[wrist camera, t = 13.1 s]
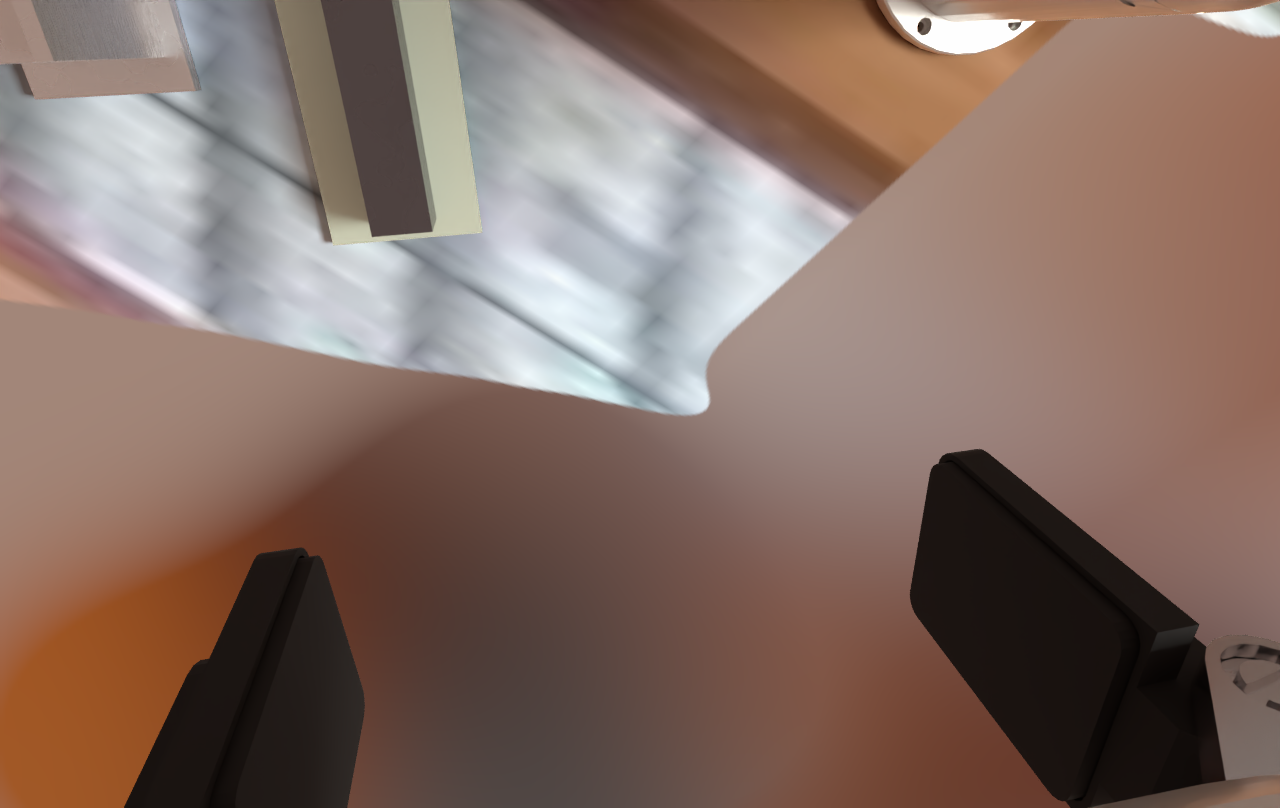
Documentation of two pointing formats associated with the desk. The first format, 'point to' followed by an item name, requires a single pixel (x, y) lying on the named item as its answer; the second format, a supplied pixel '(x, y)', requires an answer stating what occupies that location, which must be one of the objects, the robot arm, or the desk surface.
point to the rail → (381, 114)
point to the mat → (436, 108)
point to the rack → (97, 47)
